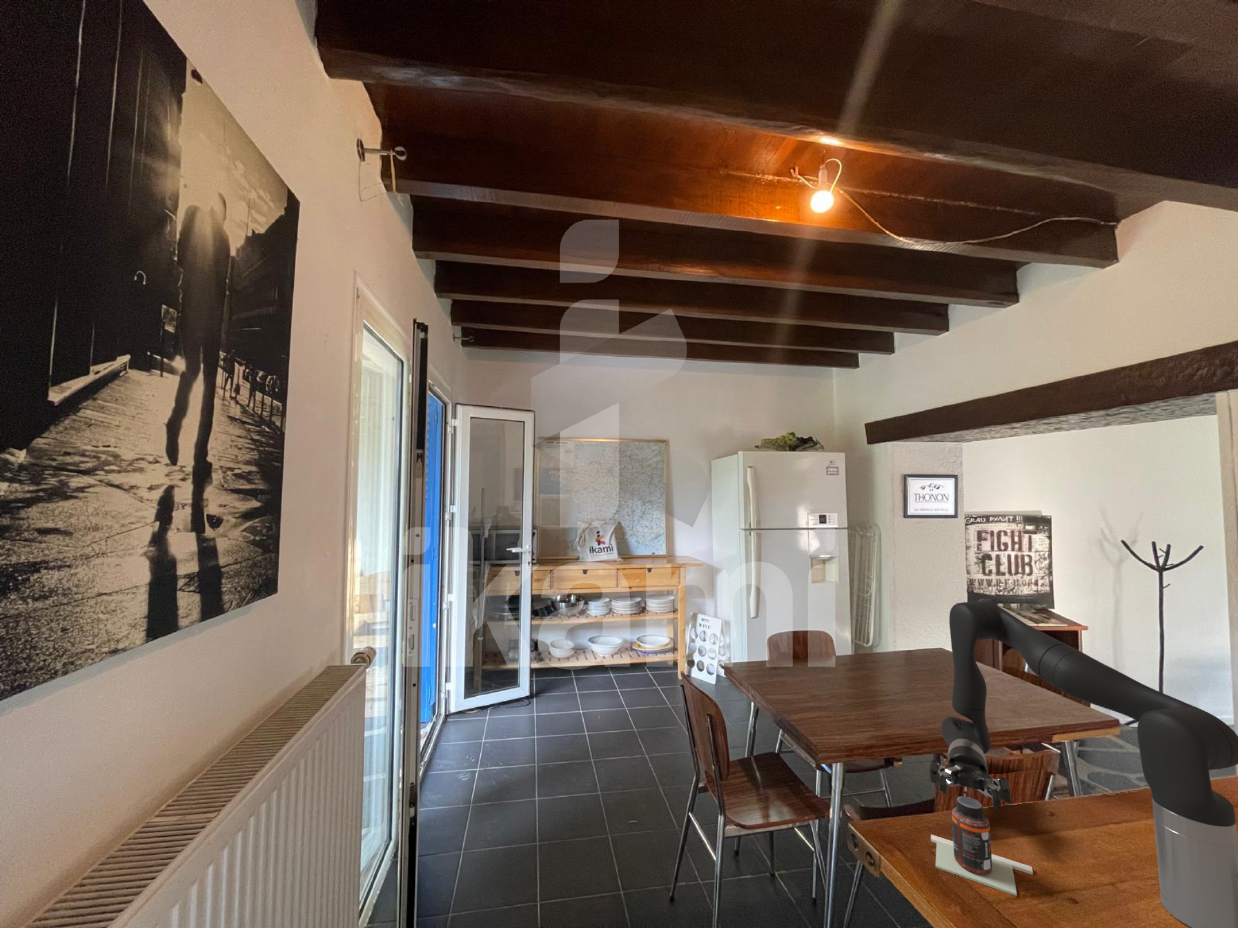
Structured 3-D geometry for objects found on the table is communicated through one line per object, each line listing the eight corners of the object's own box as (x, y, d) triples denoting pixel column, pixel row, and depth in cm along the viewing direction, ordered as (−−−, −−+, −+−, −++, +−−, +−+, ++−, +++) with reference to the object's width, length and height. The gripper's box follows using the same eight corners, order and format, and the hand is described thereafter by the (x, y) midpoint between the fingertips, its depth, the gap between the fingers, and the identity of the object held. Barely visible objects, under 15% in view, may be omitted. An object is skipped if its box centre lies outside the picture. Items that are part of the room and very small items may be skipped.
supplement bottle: (999, 878, 89) (995, 813, 90) (963, 873, 90) (960, 809, 91) (982, 855, 95) (978, 794, 96) (948, 851, 96) (945, 791, 97)
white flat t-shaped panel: (1031, 869, 92) (1031, 866, 92) (1039, 903, 84) (1039, 900, 84) (931, 836, 101) (931, 834, 101) (929, 865, 93) (929, 862, 93)
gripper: (930, 737, 118) (928, 767, 105) (1004, 754, 110) (1012, 788, 97) (932, 769, 118) (929, 803, 105) (1006, 788, 110) (1014, 828, 97)
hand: (969, 796), depth 101 cm, fingers open, 8 cm apart
